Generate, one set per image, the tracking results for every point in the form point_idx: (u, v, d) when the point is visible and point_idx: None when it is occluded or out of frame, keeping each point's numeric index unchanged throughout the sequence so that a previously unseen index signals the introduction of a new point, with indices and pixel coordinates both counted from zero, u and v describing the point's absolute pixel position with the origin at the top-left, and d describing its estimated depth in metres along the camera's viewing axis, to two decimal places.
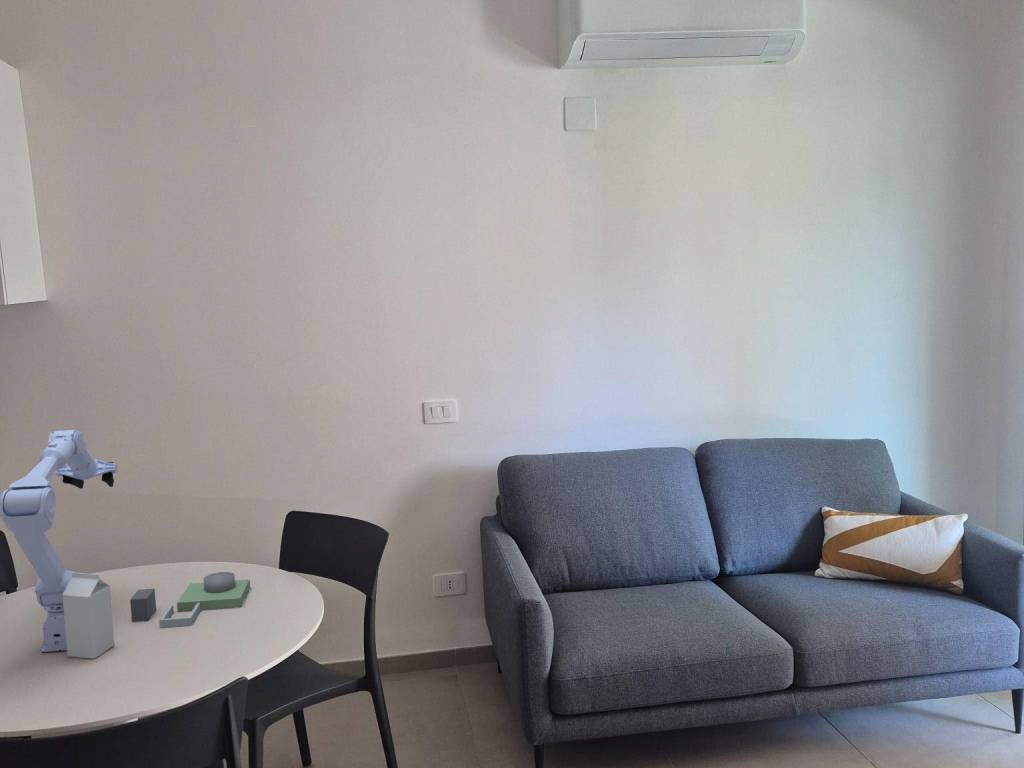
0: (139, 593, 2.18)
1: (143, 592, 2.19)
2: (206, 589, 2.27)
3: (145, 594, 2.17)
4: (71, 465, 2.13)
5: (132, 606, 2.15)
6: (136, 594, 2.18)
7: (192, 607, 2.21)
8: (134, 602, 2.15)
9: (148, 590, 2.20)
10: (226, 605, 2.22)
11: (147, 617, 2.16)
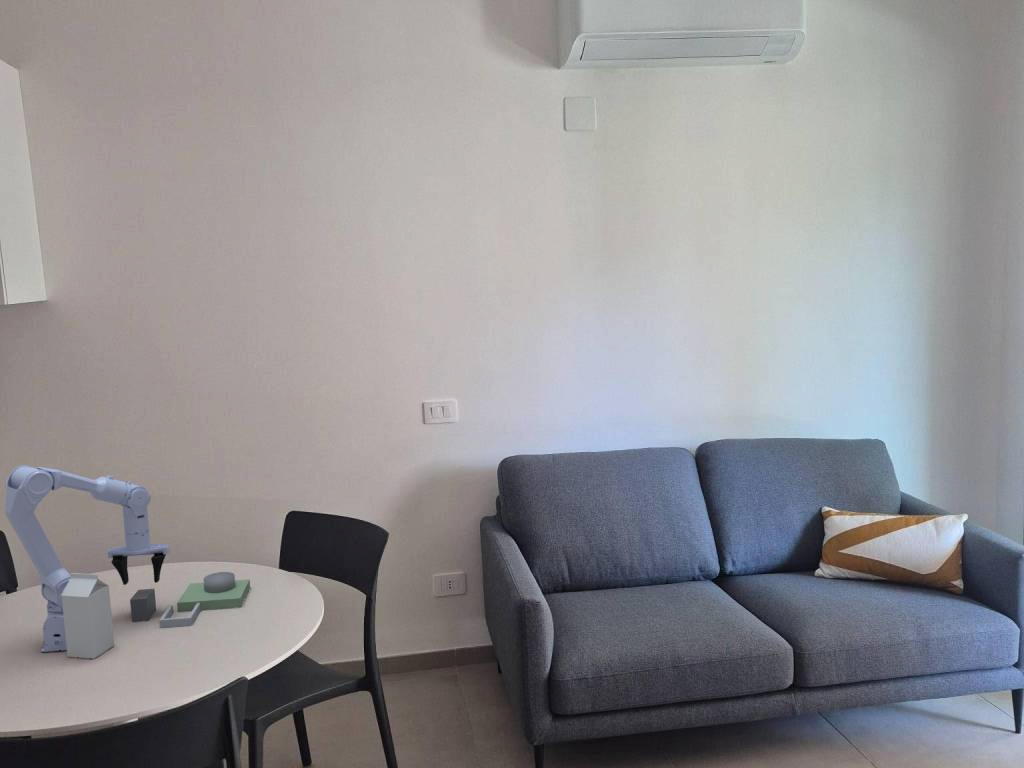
0: (139, 593, 2.18)
1: (143, 592, 2.19)
2: (206, 589, 2.27)
3: (145, 594, 2.17)
4: (124, 525, 2.14)
5: (132, 606, 2.15)
6: (136, 594, 2.18)
7: (192, 607, 2.21)
8: (134, 602, 2.15)
9: (148, 590, 2.20)
10: (226, 605, 2.22)
11: (147, 617, 2.16)
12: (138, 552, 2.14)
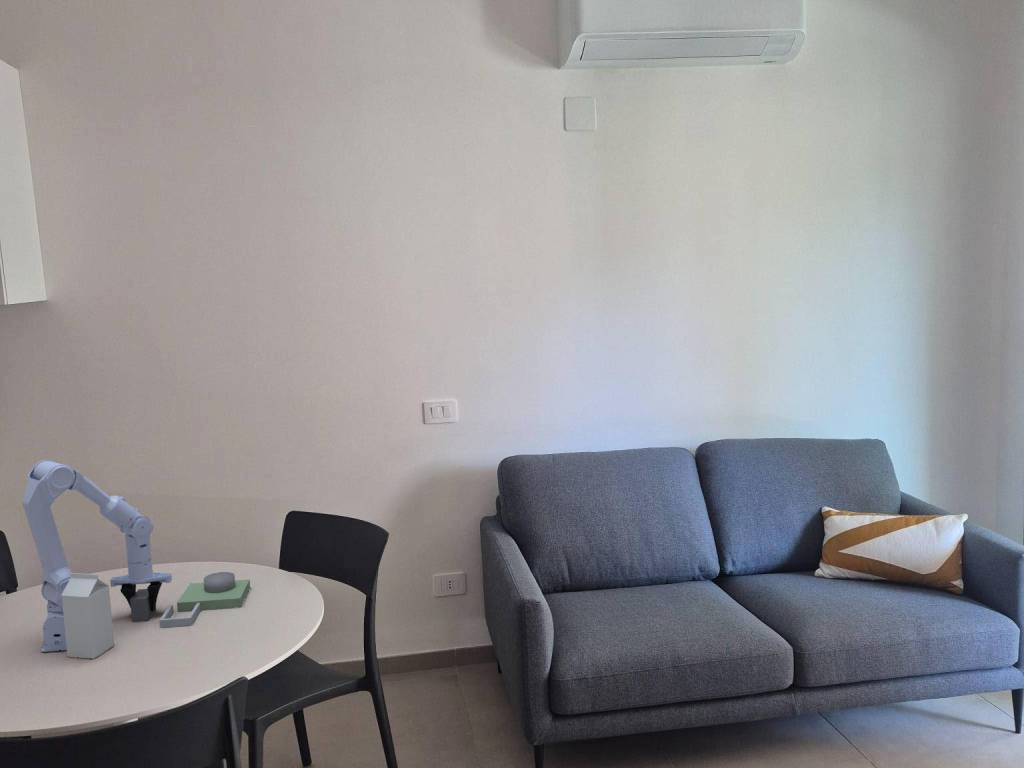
0: (139, 593, 2.18)
1: (143, 592, 2.19)
2: (206, 589, 2.27)
3: (145, 594, 2.17)
4: None
5: (132, 606, 2.15)
6: (136, 594, 2.18)
7: (192, 607, 2.21)
8: (134, 602, 2.15)
9: None
10: (226, 605, 2.22)
11: (147, 617, 2.16)
12: (141, 581, 2.15)
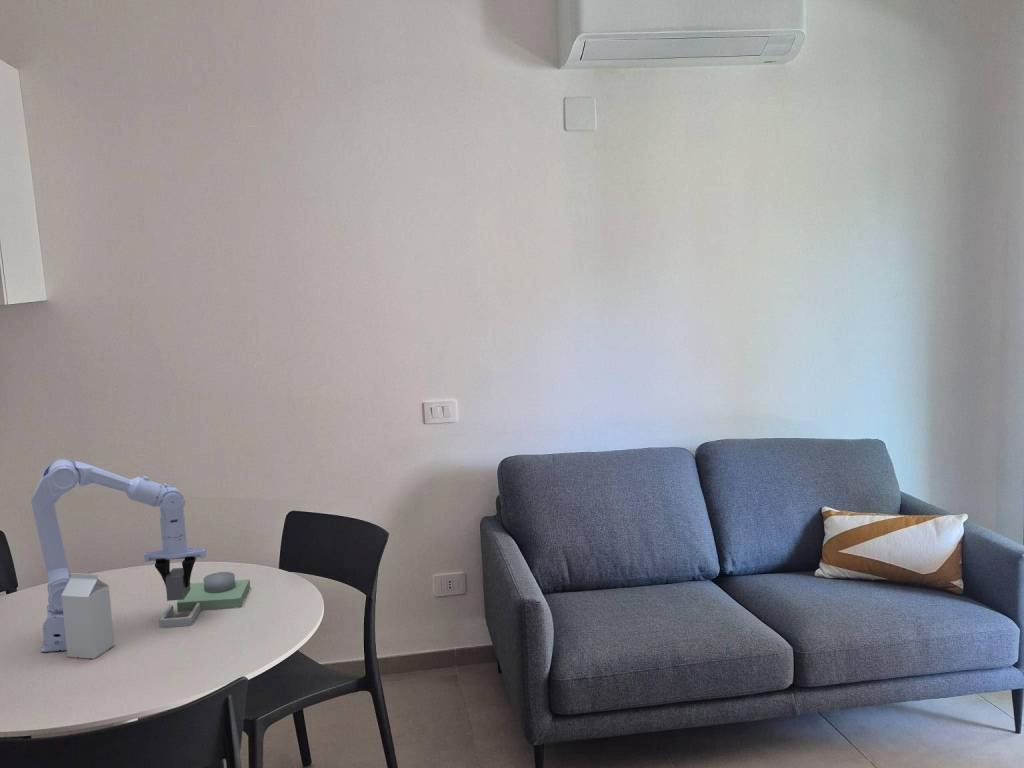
0: (173, 572, 2.16)
1: (177, 571, 2.16)
2: (206, 589, 2.27)
3: (180, 573, 2.15)
4: None
5: (167, 584, 2.12)
6: (171, 572, 2.15)
7: (192, 607, 2.21)
8: (169, 580, 2.12)
9: (182, 569, 2.18)
10: (226, 605, 2.22)
11: (182, 595, 2.13)
12: (175, 556, 2.12)
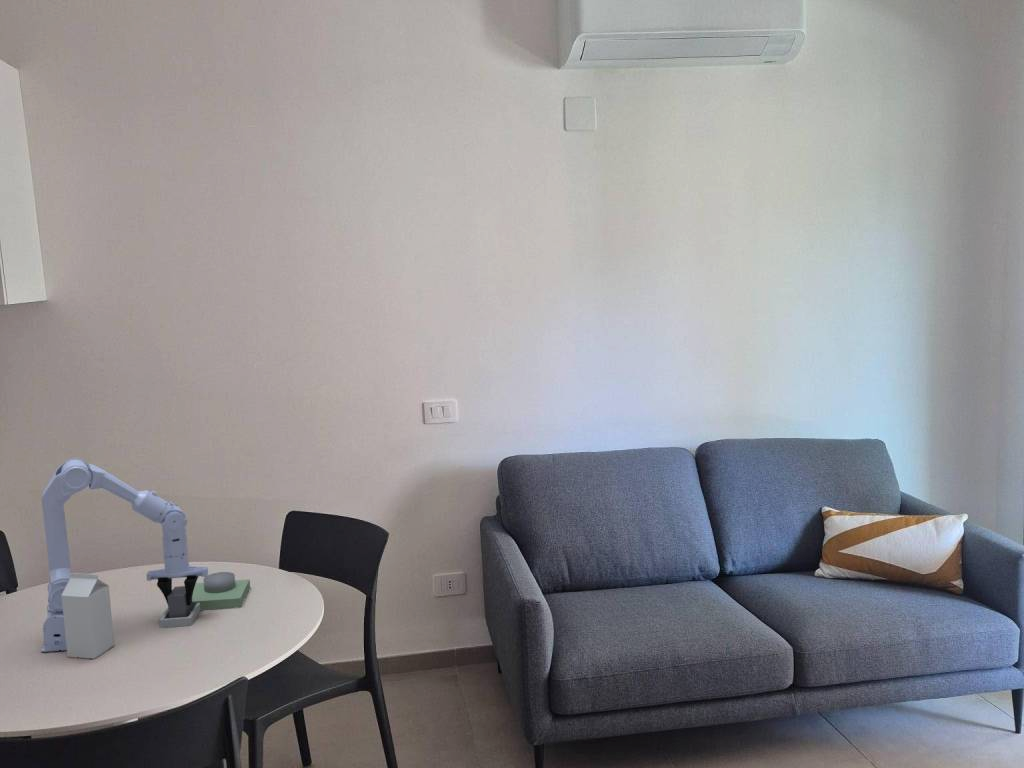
0: (175, 590, 2.16)
1: (179, 589, 2.17)
2: (206, 589, 2.27)
3: (182, 591, 2.15)
4: None
5: (169, 603, 2.13)
6: (173, 591, 2.16)
7: None
8: (172, 599, 2.13)
9: (184, 587, 2.18)
10: (226, 605, 2.22)
11: (184, 614, 2.13)
12: (177, 575, 2.12)
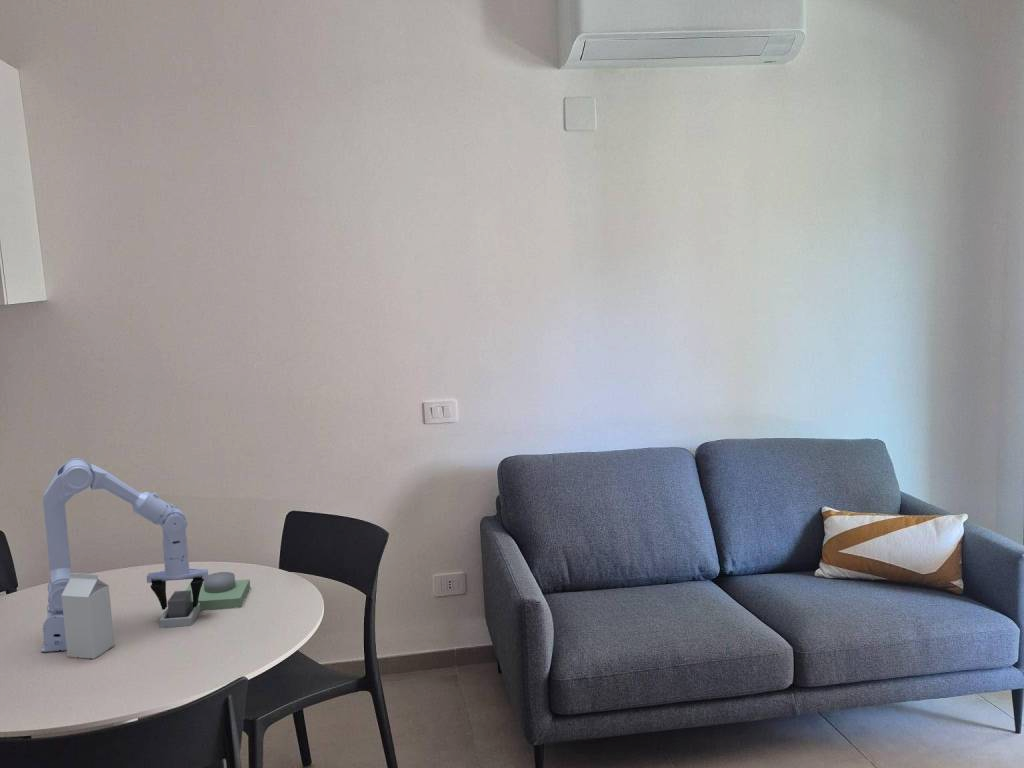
0: (176, 595, 2.16)
1: (179, 594, 2.17)
2: (206, 589, 2.27)
3: (182, 596, 2.15)
4: None
5: (169, 608, 2.13)
6: (173, 596, 2.16)
7: (192, 607, 2.21)
8: (172, 604, 2.13)
9: (185, 592, 2.18)
10: (226, 605, 2.22)
11: None
12: (177, 577, 2.12)
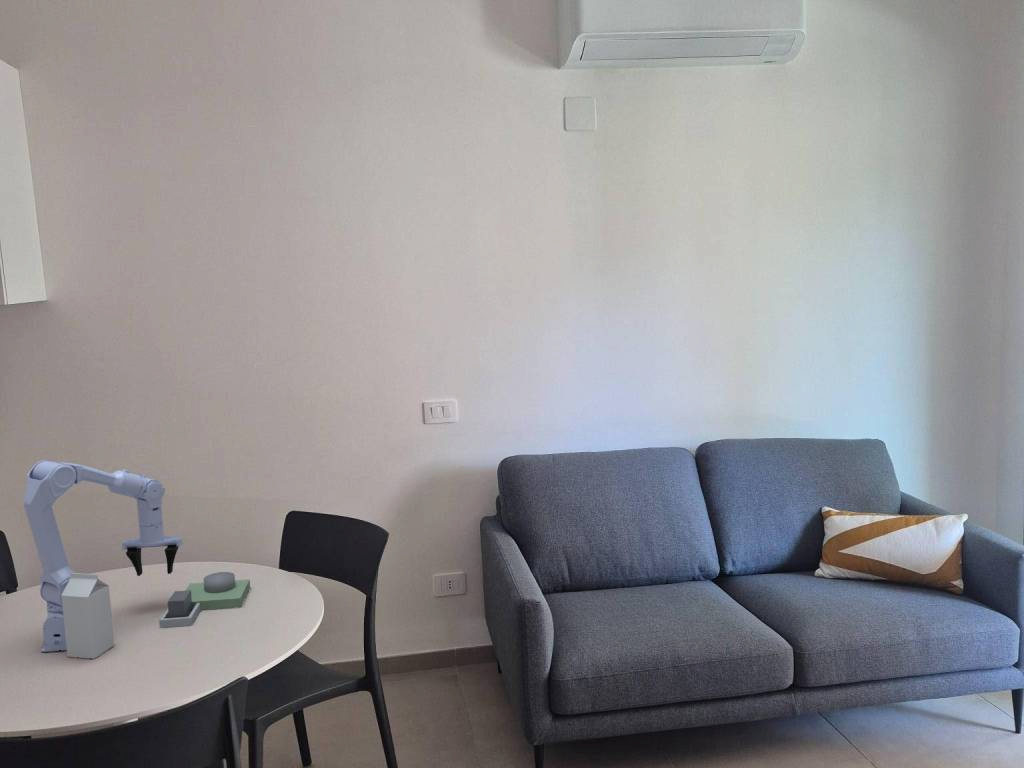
0: (176, 595, 2.16)
1: (179, 594, 2.17)
2: (206, 589, 2.27)
3: (182, 596, 2.15)
4: (138, 518, 2.19)
5: (169, 608, 2.13)
6: (173, 596, 2.16)
7: (192, 607, 2.21)
8: (172, 604, 2.13)
9: (185, 592, 2.18)
10: (226, 605, 2.22)
11: None
12: (152, 544, 2.19)
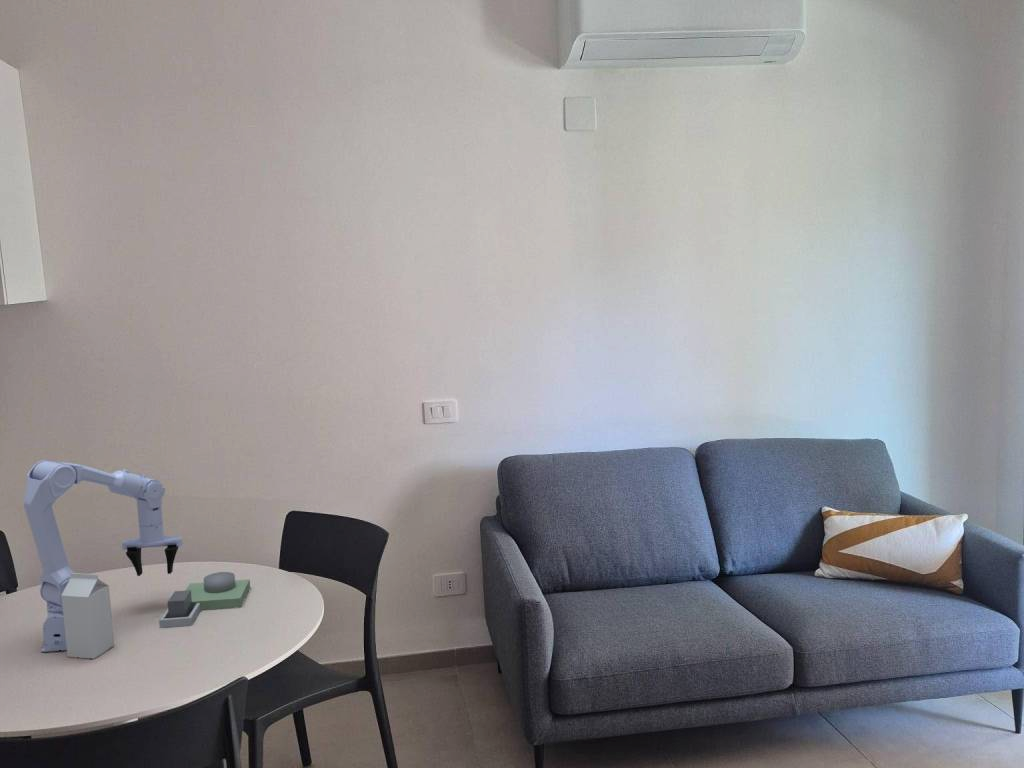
0: (176, 595, 2.16)
1: (179, 594, 2.17)
2: (206, 589, 2.27)
3: (182, 596, 2.15)
4: (138, 518, 2.19)
5: (169, 608, 2.13)
6: (173, 596, 2.16)
7: (192, 607, 2.21)
8: (172, 604, 2.13)
9: (185, 592, 2.18)
10: (226, 605, 2.22)
11: None
12: (152, 544, 2.19)
